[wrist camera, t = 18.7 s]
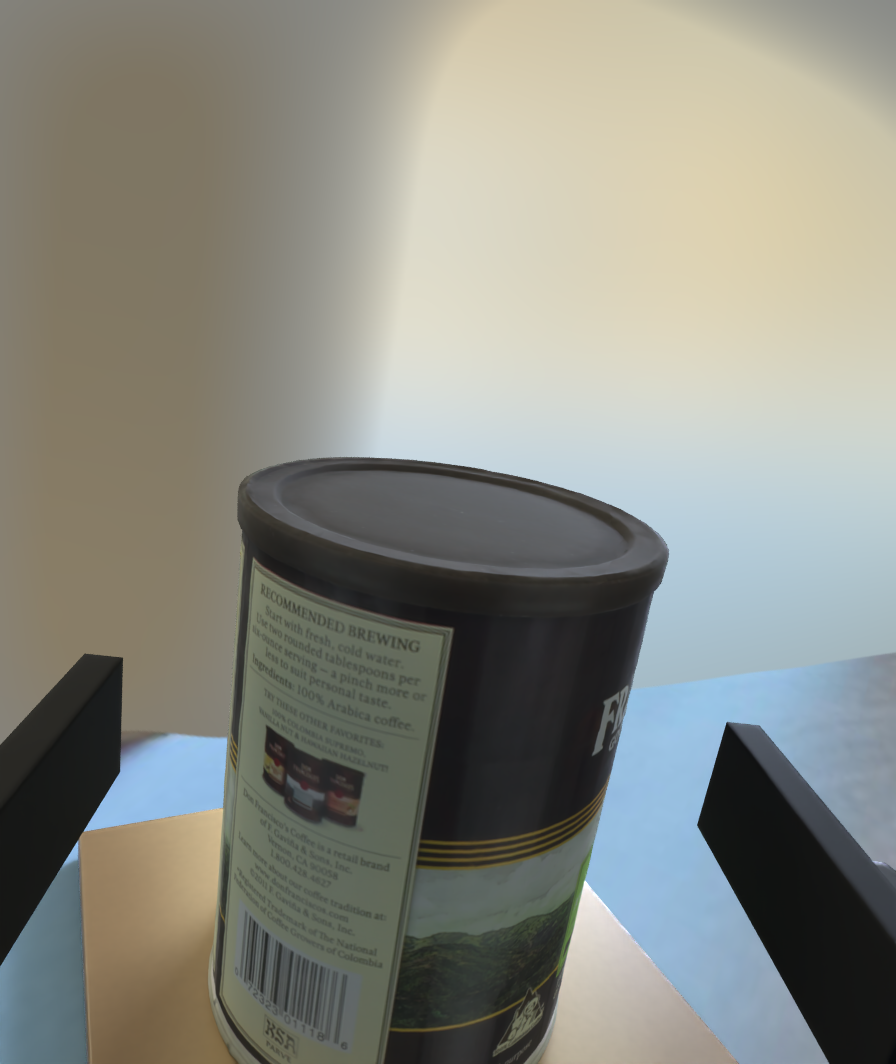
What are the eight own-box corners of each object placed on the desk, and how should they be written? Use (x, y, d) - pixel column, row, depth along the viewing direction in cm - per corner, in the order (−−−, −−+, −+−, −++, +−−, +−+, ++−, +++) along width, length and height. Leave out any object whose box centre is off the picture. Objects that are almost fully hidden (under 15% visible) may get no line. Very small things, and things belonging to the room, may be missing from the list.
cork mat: (105, 1531, 12) (107, 1494, 12) (77, 856, 25) (78, 831, 25) (776, 1146, 20) (787, 1118, 19) (482, 781, 33) (485, 761, 33)
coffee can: (545, 862, 27) (628, 488, 23) (574, 1176, 17) (729, 616, 13) (266, 816, 27) (301, 436, 23) (136, 1101, 17) (158, 525, 13)
